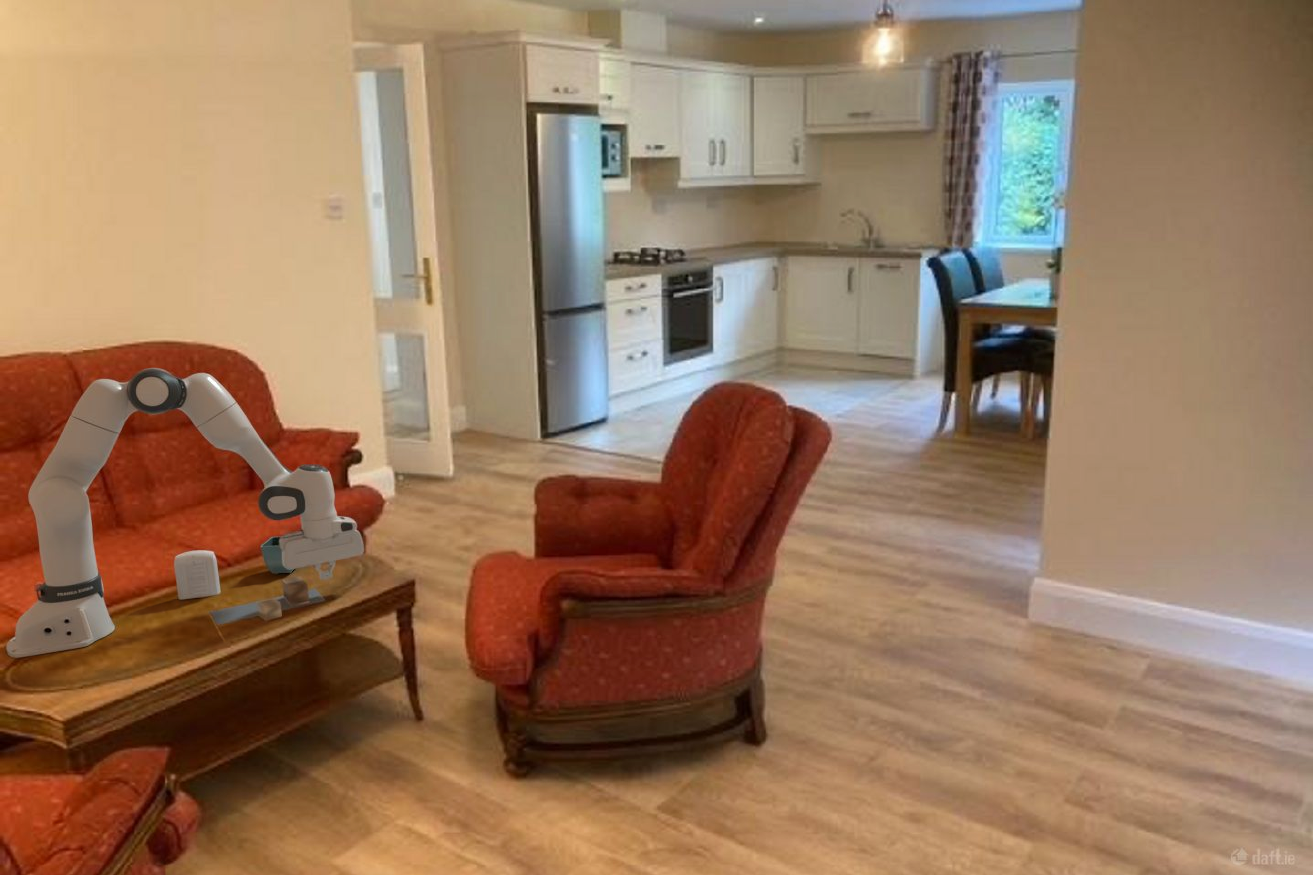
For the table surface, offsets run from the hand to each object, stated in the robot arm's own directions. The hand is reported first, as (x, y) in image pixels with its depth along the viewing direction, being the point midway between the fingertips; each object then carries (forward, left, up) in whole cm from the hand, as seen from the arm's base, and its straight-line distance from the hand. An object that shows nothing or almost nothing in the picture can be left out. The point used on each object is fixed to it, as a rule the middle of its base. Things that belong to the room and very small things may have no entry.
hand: (326, 578), depth 266 cm
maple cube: (-16, -8, -4) cm, 18 cm away
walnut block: (-8, 0, -4) cm, 9 cm away
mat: (-15, 0, -4) cm, 16 cm away
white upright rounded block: (-28, +21, -4) cm, 35 cm away
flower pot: (-5, +27, -4) cm, 28 cm away
